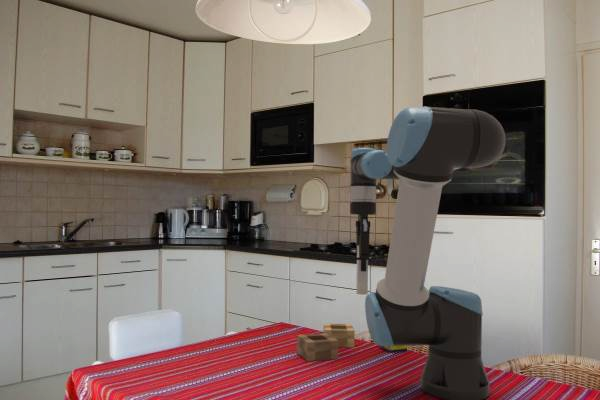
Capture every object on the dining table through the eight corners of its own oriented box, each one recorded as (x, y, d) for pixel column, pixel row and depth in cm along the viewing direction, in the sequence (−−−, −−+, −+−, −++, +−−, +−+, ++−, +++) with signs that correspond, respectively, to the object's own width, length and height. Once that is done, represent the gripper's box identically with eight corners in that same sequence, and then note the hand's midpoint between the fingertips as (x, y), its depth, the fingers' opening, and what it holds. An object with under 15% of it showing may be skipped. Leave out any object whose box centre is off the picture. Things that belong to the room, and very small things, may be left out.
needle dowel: (368, 294, 145) (368, 246, 146) (357, 294, 145) (357, 245, 146) (366, 292, 149) (367, 245, 149) (356, 292, 149) (356, 245, 149)
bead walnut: (338, 358, 140) (338, 340, 140) (307, 361, 137) (308, 342, 137) (325, 350, 148) (325, 333, 148) (296, 352, 145) (297, 335, 145)
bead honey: (354, 347, 152) (354, 330, 152) (324, 346, 152) (324, 330, 152) (351, 339, 161) (351, 324, 161) (323, 339, 161) (323, 323, 161)
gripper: (380, 200, 140) (379, 285, 139) (372, 202, 156) (371, 278, 155) (353, 200, 140) (351, 285, 139) (347, 201, 156) (346, 277, 155)
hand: (362, 281), depth 147 cm, fingers closed on needle dowel, 3 cm apart
